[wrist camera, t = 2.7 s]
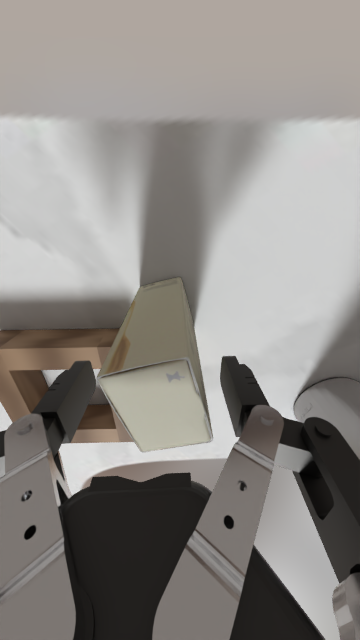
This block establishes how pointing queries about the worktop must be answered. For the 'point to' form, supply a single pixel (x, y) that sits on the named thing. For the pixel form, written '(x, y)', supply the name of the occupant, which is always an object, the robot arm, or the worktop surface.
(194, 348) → the skincare box
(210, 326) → the worktop surface
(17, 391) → the socket block
